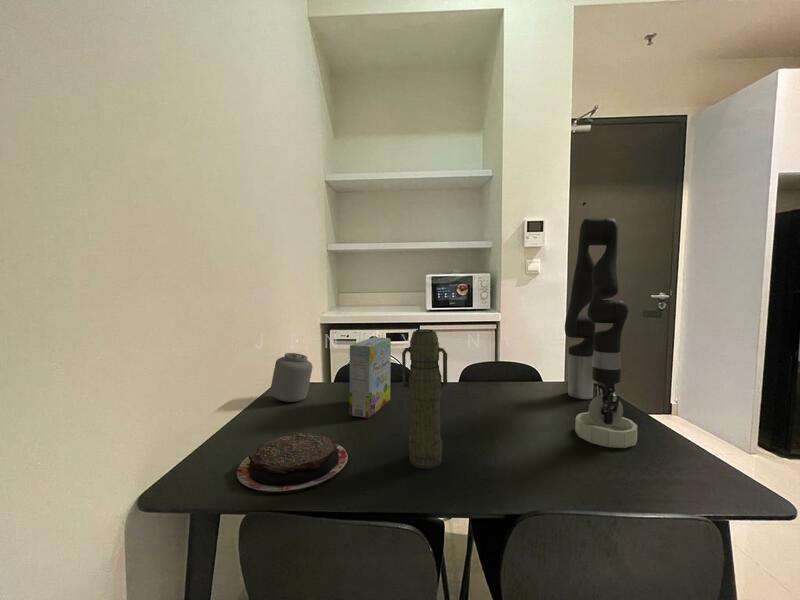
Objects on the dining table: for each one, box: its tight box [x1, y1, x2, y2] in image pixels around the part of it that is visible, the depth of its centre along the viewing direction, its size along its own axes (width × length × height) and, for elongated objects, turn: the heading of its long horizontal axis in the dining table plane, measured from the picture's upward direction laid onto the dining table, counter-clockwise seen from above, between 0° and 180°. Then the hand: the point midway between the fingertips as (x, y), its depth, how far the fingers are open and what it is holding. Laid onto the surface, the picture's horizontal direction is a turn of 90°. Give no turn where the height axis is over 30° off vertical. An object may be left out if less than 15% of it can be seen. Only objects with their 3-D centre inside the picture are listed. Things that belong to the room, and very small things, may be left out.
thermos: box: [401, 328, 448, 469], centre depth 98 cm, size 9×12×35 cm
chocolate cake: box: [236, 432, 349, 494], centre depth 97 cm, size 28×28×7 cm
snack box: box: [348, 336, 392, 419], centre depth 139 cm, size 22×9×26 cm, turn 161°
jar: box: [269, 338, 313, 403], centre depth 150 cm, size 19×15×25 cm
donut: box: [588, 395, 624, 427], centre depth 112 cm, size 10×4×10 cm, turn 88°
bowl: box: [574, 411, 638, 449], centre depth 112 cm, size 16×16×4 cm
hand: (605, 420), depth 112 cm, fingers closed on donut, 3 cm apart
